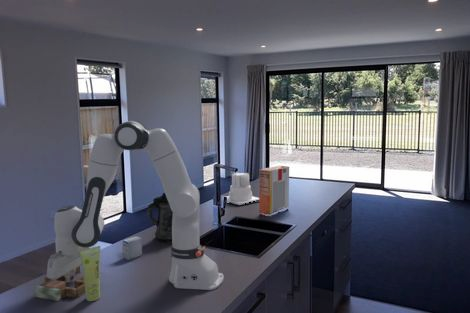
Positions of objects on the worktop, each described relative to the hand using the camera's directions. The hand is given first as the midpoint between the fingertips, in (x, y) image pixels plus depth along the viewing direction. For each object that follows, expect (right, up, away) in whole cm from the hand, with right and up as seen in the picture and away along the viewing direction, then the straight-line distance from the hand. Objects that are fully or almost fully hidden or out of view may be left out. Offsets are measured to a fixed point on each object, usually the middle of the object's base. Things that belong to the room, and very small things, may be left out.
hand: (70, 280), depth 154 cm
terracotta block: (-3, -3, -7) cm, 8 cm away
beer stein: (+30, +5, +53) cm, 62 cm away
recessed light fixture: (+70, +15, +137) cm, 154 cm away
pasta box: (+92, +12, +107) cm, 142 cm away
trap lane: (0, -2, 0) cm, 2 cm away
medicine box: (+17, +2, +29) cm, 34 cm away
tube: (+13, -3, -11) cm, 17 cm away
